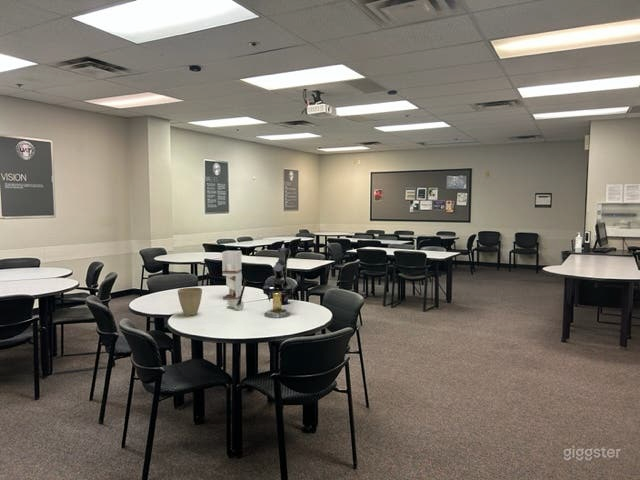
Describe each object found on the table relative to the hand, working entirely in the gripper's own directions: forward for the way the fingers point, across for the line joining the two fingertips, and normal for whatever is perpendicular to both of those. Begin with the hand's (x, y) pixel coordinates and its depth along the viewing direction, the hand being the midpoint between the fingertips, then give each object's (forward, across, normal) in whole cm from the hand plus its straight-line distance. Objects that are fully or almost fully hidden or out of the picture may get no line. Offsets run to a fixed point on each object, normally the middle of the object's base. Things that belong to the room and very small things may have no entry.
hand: (276, 301), depth 281 cm
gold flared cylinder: (+5, 0, +7) cm, 8 cm away
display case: (-30, -40, +43) cm, 66 cm away
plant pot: (+7, -54, +6) cm, 55 cm away
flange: (+5, 0, +7) cm, 9 cm away
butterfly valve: (-7, -31, +21) cm, 38 cm away
